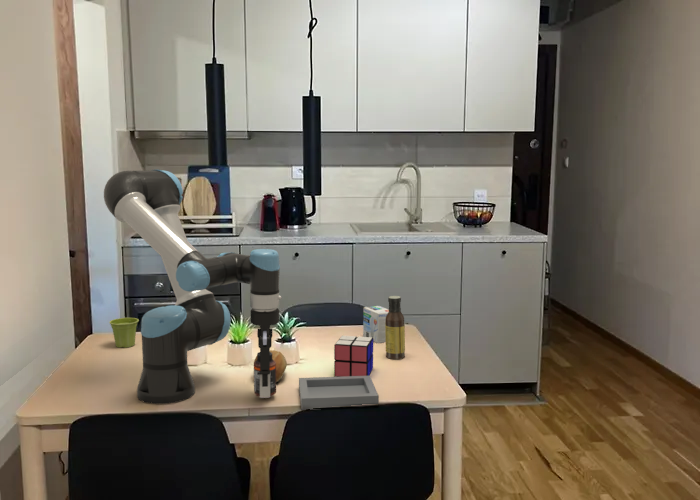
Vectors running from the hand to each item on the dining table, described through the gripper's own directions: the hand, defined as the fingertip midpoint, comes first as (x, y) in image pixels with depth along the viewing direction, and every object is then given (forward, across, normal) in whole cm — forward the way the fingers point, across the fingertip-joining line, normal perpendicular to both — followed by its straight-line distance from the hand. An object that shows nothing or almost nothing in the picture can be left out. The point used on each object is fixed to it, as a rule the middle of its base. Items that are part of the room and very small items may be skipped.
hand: (265, 392), depth 180 cm
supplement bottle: (+1, 0, 0) cm, 1 cm away
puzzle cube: (+2, +19, -26) cm, 32 cm away
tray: (+1, -1, -19) cm, 19 cm away
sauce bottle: (+2, +33, -41) cm, 53 cm away
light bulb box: (+2, +55, -39) cm, 67 cm away
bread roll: (+2, +17, -1) cm, 17 cm away
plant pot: (+3, +55, +48) cm, 73 cm away
